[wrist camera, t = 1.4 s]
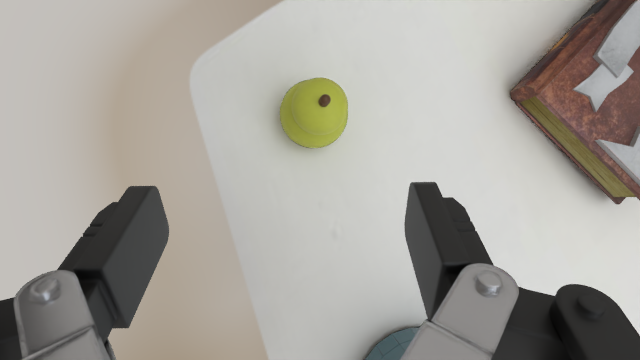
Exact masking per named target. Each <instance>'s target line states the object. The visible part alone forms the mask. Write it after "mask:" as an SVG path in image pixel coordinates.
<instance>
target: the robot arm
mask: <svg viewBox="0 0 640 360" xmlns="http://www.w3.org/2000/svg"><path fill="white" fill-rule="evenodd" d="M168 236H169V226H168V222H167V218H166V214H165V211H164V207H163V204H162V201H161V197H160V194H159V191H158V189H157V187H155V186H130V187H129V188H128V189H127V190H126V191H125V193H124V194H123V196H122V197H121V199H120V200H119V202H113V203H111V204H110V205H108V206H107V207H106V208H104V209H103V210H102V211H100V212H99V213H98V214H97V216H96V217H95V218H94V220H93V221H92V222H91V224H90V227H88V228H87V229H86V231H85V232H84V233H83V237H81V238H80V239H79V241H78V242H77V243H76V245H75V246H74V247H73V249H72V250H71V252H70V253H69V254H68V256H67V257H66V258H65V260H64V261H63V263H62V264H61V265H60V267H59V268H58V269H57V270H56V271H51V272H47V273H45V274H42V275H40V276H38V277H36V278H34V279H32V280H31V281H29V282H28V283H26V284H25V285H24V286H23V287H22V288H21V289H20V290H19V291H18V293H17V294H16V297H14V298H10V299H6V300H2V301H0V360H116V358H115V355H114V352H113V350H112V348H111V344H110V342H109V340H108V336H109V334H110V332H111V330H112V328H129V326H130V324H131V321H132V319H133V317H134V315H135V313H136V310H137V308H138V306H139V304H140V302H141V299H142V297H143V295H144V292H145V290H146V288H147V286H148V283H149V281H150V279H151V277H152V275H153V273H154V270H155V268H156V266H157V264H158V262H159V259H160V257H161V255H162V253H163V251H164V248H165V246H166V244H167V241H168ZM405 237H406V242H407V245H408V249H409V252H410V256H411V260H412V263H413V267H414V270H415V274H416V278H417V281H418V285H419V288H420V292H421V296H422V299H423V303H424V307H425V310H426V314H427V317H428V319H426V320H425V321H424V323H423V324H422V325H421V327H420V328H419V330H418V332H417V333H416V335H415V336H414V338H413V340H412V341H411V343H410V344H409V346H408V348H407V349H406V351H405V353H404V354H403V356H402V357H401V359H400V360H640V336H639V334H638V333H637V331H636V330H635V328H634V327H633V326H632V324H631V323H630V321H629V320H628V318H627V317H626V315H625V314H624V313H623V311H622V310H621V308H620V307H619V306H618V305H617V303H615V302H614V301H613V300H612V299H611V298H610V297H608V296H607V295H605V294H604V293H602V292H600V291H598V290H596V289H594V288H591V287H588V286H584V285H578V284H570V285H565V286H563V287H561V288H560V289H559V290H558V291H557V293H556V295H555V296H552V295H548V294H543V293H539V292H535V291H530V290H527V289H523V288H521V287H518V285H517V283H516V282H515V280H514V279H513V278H512V277H511V276H510V275H509V274H508V273H507V272H505V271H504V270H502V269H500V268H498V267H496V266H494V265H493V263H492V261H491V259H490V257H489V255H488V253H487V251H486V249H485V247H484V245H483V243H482V241H481V239H480V237H479V235H478V233H477V231H475V227H474V225H473V224H472V222H470V218H469V216H468V214H467V212H466V210H465V208H464V207H463V206H462V205H461V204H460V203H458V202H457V201H456V200H455V199H454V198H443V197H442V195H441V193H440V190H439V188H438V186H437V184H436V183H435V182H412V183H411V184H410V187H409V193H408V201H407V208H406V216H405Z"/></svg>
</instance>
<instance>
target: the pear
mask: <svg viewBox="0 0 640 360" xmlns="http://www.w3.org/2000/svg"><path fill="white" fill-rule="evenodd" d="M347 118H348V102H347V98H346V95H345V93H344V91H343V90H342V88H341V87H340V86H339V85H338V84H336V83H335V82H333V81H332V80H329V79H326V78H314V79H310V80H305V81H302V82H299V83H297V84H296V85H294V86H293V87H292V88H291V89H290V90H289V91H288V92H287V93H286V95H285V96H284V98H283V100H282V103H281V107H280V120H281V124H282V127H283V129H284V131H285V133H286V134H287V135H288V137H289V138H290V139H291V140H293V141H294V142H295V143H297V144H299V145H301V146H304V147H308V148H320V147H324V146H327V145H329V144H331V143H333V142H334V141H335V140H336V139H337V138H338V137H339V136H340V135H341V134H342V132H343V130H344V129H345V126H346V123H347Z"/></svg>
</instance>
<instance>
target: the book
mask: <svg viewBox="0 0 640 360" xmlns="http://www.w3.org/2000/svg"><path fill="white" fill-rule="evenodd" d="M510 94H511V99H513V100H515V101H516V104H517V105H518V106H519V107H520V108H521V109H522V110H523V111H524V112H525V113H526V114H527V115H528V116H529V117H530V118H531V119H532V120H533V121H534V122H535V123H536V124H537V125H538V126H539V127H540V128H541V129H542V130H543V131H544V132H545V133H546V134H547V135H548V136H549V137H550V138H551V139H552V140H553V141H554V142H555V143H556V144H557V145H558V146H559V147H560V148H561V149H562V150H563V151H564V152H565V153H566V154H567V155H568V156H569V157H570V158H571V159H572V160H573V161H574V163H575V164H576V165H577V166H578V167H579V168H580V169H581V170H582V171H583V172H584V173H585V174H586V175H587V176H588V177H589V178H590V179H591V180H592V181H593V182H594V183H595V184H596V185H597V186H598V187H599V188H600V189H601V190H602V191H603V192H604V193H605V194H606V195H607V196H608V197H609V198H610V199H611V200H612V201H613V202H614V203H615V204H620V203H621V202H622V201H623V200H624V199H625V198H626V197H637V198H638V199H639V200H640V0H598V1H597V2H596V3H595V4H594V5H593V6H592V7H591V8H590V10H589V11H588V12H587V13H586V14H585V15H584V16H583V17H582V18H581V19H580V20H579V21H578V22H577V23H576V24H575V25H574V26H573V27H572V28H571V29H570V30H569V31H568V32H567V33H566V34H565V35H564V37H563V38H562V39H561V40H560V41H559V42H558V43H557V44H556V45H555V46H554V47H553V48H552V49H551V50H550V51H549V52H548V53H547V54H546V55H545V56H544V57H543V58H542V59H541V60H540V61H539V63H538V64H537V65H536V66H535V67H534V68H533V69H532V70H531V71H530V72H529V73H528V74H527V75H526V76H525V77H524V78H523V79H522V80H521V81H520V82H519V83H518V84H517V85H516V86H515V87H514V88H513V90H512V91H511V92H510Z"/></svg>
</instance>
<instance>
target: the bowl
mask: <svg viewBox="0 0 640 360" xmlns="http://www.w3.org/2000/svg"><path fill="white" fill-rule="evenodd" d="M418 330H419V328H407V329H404V330H401V331H398V332H395V333H392V334H390V335H389V336H388V337H386V338H385V339H384V340H382V341H381V342H379V343H378V344H377V345H376V346H375V347H374V348H373V350H372V351H371V352H370V354H369V355H368V356H367V358H366V359H365V360H400V359H401V357H402V356H403V354H404V353H405V351H406V349H407V348H408V346H409V344H410V343H411V341H412V340H413V338H414V336H415V335H416V333H417V332H418Z"/></svg>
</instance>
